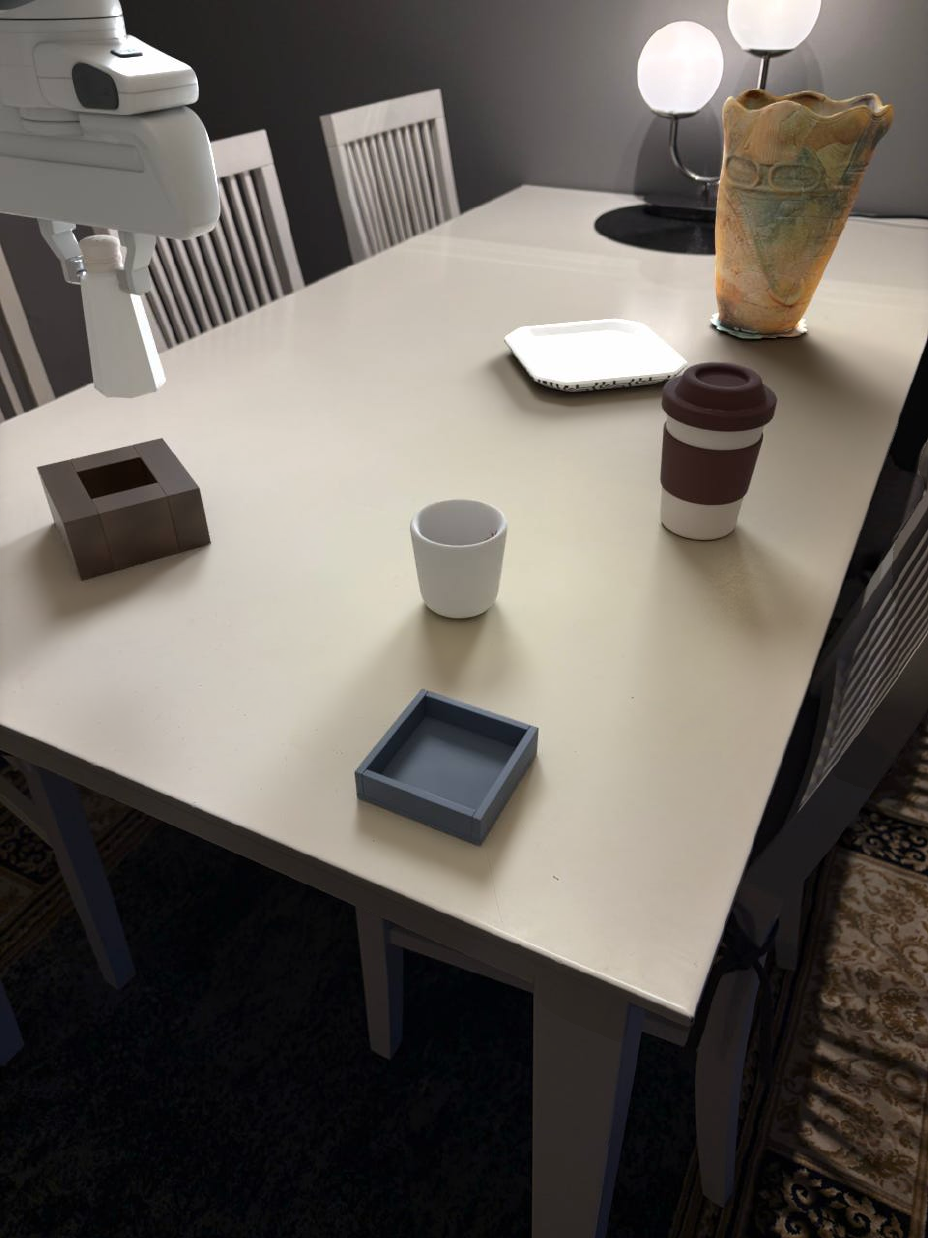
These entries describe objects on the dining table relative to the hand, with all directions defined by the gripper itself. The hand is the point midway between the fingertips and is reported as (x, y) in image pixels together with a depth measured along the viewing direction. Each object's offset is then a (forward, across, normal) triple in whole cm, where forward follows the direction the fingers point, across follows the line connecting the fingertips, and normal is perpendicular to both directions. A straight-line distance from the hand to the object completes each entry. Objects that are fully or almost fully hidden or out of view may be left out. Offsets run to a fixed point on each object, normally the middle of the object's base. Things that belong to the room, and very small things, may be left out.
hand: (109, 287), depth 67 cm
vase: (+24, +36, +89) cm, 99 cm away
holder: (+25, -8, +4) cm, 27 cm away
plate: (+24, +18, +63) cm, 70 cm away
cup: (+25, +25, +9) cm, 36 cm away
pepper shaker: (+8, 0, 0) cm, 8 cm away
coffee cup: (+25, +41, +29) cm, 56 cm away
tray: (+25, +34, -11) cm, 44 cm away
